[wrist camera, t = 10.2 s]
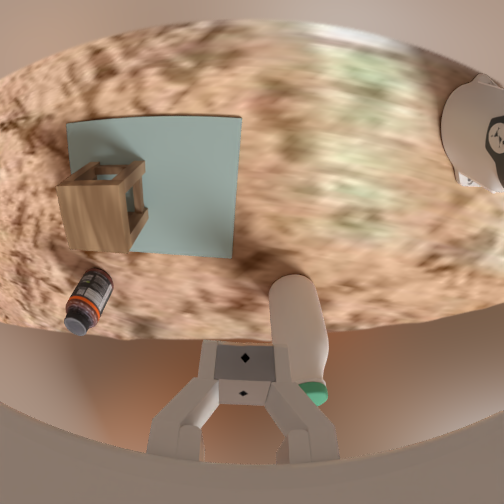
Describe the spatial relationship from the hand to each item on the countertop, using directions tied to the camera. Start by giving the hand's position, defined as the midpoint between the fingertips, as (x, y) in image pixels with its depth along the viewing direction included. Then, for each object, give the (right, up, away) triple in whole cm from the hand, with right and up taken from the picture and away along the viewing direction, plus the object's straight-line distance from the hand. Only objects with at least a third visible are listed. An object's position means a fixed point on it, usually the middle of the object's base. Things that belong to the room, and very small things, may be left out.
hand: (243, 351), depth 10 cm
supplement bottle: (-26, -1, +36) cm, 44 cm away
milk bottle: (+7, -3, +37) cm, 38 cm away
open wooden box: (-14, +9, +23) cm, 28 cm away
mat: (-14, +12, +27) cm, 32 cm away
